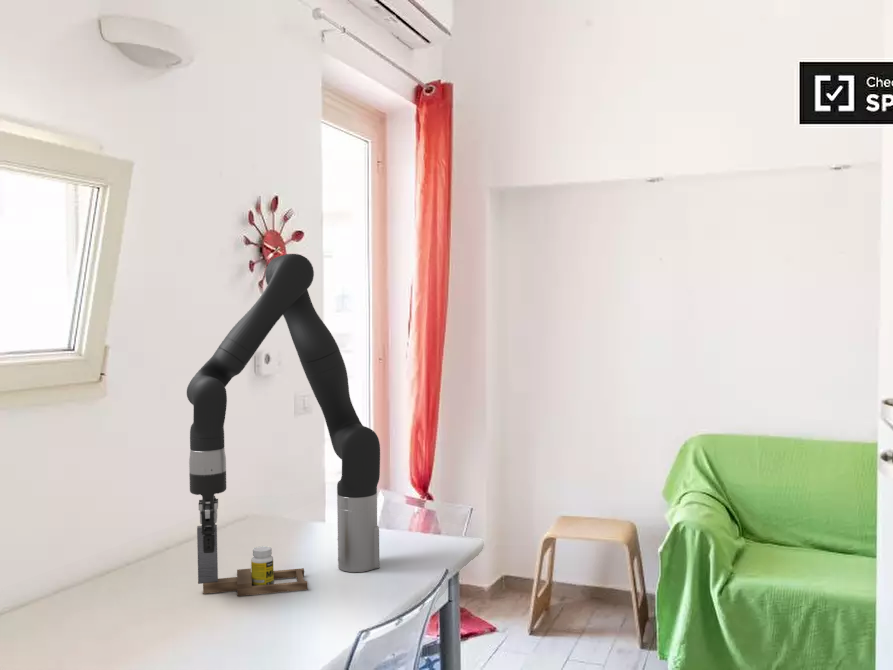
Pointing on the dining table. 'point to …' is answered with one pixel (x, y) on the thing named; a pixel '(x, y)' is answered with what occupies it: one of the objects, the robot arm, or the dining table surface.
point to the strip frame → (240, 575)
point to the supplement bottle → (262, 566)
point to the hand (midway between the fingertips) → (209, 549)
